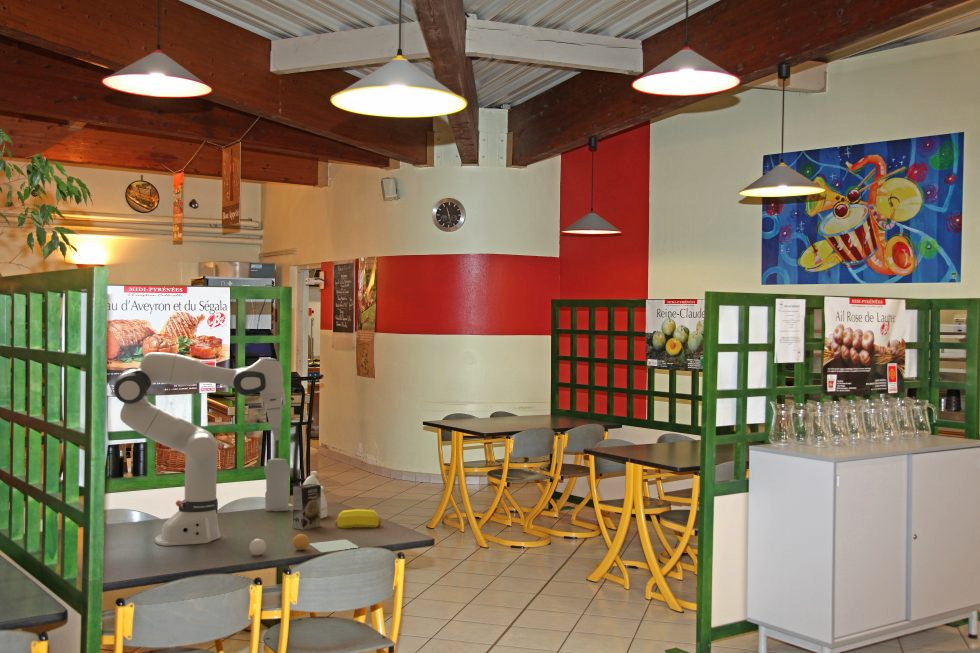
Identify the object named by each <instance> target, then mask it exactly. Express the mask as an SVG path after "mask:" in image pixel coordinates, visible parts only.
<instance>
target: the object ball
mask: <svg viewBox="0 0 980 653" xmlns="http://www.w3.org/2000/svg"><path fill="white" fill-rule="evenodd" d="M292 540H293V541H292V545H293V548H295V550H297V551H305V549H307V548H308V547H309V546H310V545H309V543H310V539H309V537H308V536H307V535H306V534H304V533H303V534H302V533H299V534H296V535H295V536H294V537H293V539H292Z"/></svg>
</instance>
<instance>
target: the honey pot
mask: <svg viewBox="0 0 980 653" xmlns="http://www.w3.org/2000/svg"><path fill="white" fill-rule="evenodd" d="M317 474H318V471H315V470H313V471H310V475H309V476H307V478H306V479H305V480H304V482H303V483H302V485H306V484H316V485H321V484H320V481H319V480H318V479H317V477H316V476H317ZM324 489H325V488H324V486H322V485H321V515H320V518H321V519H323V518H324V517H325V518H327V517H328V502H327V501H326V500H327V499H326V497H325V493H324V492H323V490H324ZM325 518H324V519H325Z"/></svg>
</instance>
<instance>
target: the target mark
mask: <svg viewBox="0 0 980 653" xmlns="http://www.w3.org/2000/svg"><path fill="white" fill-rule="evenodd" d="M308 546H310V547H312V548H313V549H315V550H317V551H318V552H319V553H322V554H323V553H332V552H338V551H339V552H340V550H341V551H346V550H345V549H349V550H351V549H350V548H357V549H359V548H358V547H359V546H358V545H356V544H355V543H353V542H351V541H350V540H348V539H337V540H329V541H321V542H320V541H319V542H311V543H310V542H309V545H308Z"/></svg>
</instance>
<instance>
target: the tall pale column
mask: <svg viewBox="0 0 980 653" xmlns="http://www.w3.org/2000/svg"><path fill="white" fill-rule="evenodd" d="M290 475H291V467H290V466H289V463H288V459H287V458H279V457H278V458H277V457H276V458H275V457H274V458H272V459H268V460H267V463H266V465H265V466H264V476H265V483H266V484H265V486H266V487H265V489H266V490H265V493H264V495H265V497H264V510H265V512H285V511H289V510H290V493H289V477H290Z"/></svg>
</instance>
